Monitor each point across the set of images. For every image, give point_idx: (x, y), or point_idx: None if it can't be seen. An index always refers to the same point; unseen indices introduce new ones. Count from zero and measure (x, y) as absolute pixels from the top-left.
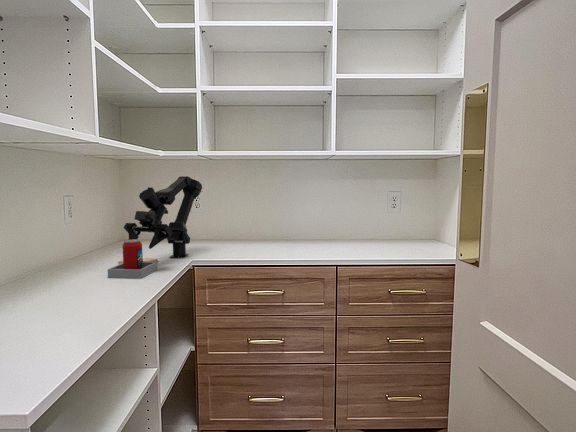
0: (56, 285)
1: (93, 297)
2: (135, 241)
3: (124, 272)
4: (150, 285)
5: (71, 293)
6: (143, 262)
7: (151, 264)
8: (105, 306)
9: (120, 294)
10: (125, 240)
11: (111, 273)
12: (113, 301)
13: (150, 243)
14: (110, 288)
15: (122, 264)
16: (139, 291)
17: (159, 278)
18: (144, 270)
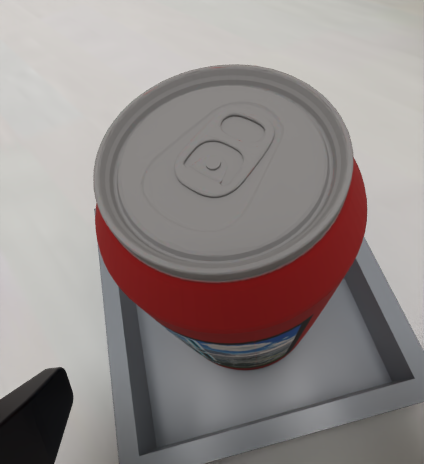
0: (400, 30)
1: (131, 22)
2: (110, 127)
3: None
4: (9, 170)
5: (237, 13)
6: (245, 425)
7: (118, 377)
8: (44, 4)
9: (65, 65)
10: (334, 114)
11: None
12: (47, 27)
13: (10, 404)
14: (149, 87)
15: (374, 299)
16: (16, 106)
17: (18, 275)
18: None
